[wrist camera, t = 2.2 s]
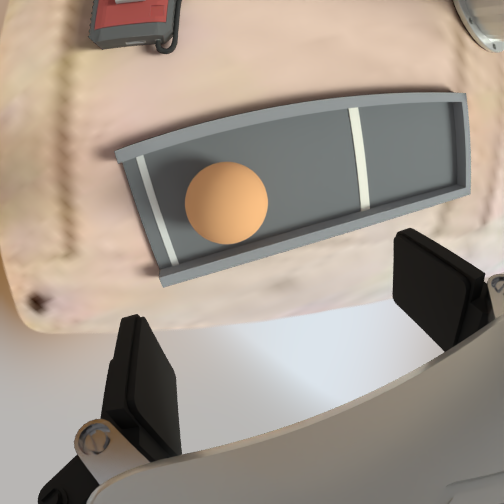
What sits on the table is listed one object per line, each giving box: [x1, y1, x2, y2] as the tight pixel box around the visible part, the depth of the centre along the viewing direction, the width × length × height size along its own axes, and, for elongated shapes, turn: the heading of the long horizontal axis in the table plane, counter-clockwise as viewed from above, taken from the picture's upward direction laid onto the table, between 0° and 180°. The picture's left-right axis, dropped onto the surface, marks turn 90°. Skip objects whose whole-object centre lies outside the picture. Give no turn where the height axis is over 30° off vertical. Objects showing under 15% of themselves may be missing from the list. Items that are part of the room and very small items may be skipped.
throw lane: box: [114, 92, 471, 288], centre depth 25 cm, size 12×35×2 cm, turn 103°
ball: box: [185, 162, 268, 244], centre depth 22 cm, size 6×6×6 cm
